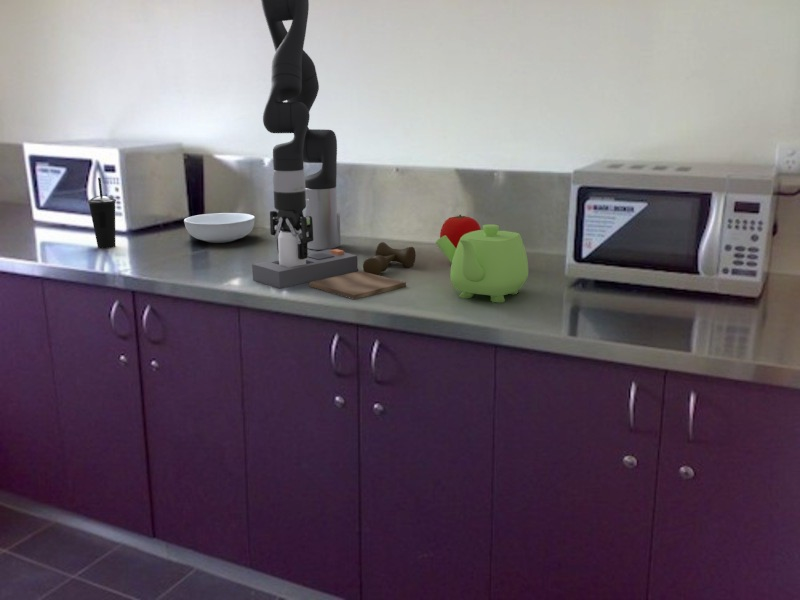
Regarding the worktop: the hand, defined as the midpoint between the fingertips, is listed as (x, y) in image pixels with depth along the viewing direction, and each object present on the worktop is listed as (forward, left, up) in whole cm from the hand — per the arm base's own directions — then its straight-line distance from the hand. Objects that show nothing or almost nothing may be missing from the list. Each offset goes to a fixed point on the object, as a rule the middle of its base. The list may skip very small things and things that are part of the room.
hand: (292, 256), depth 191 cm
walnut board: (-6, +17, -6) cm, 19 cm away
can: (0, 0, -6) cm, 6 cm away
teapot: (-20, +41, -6) cm, 46 cm away
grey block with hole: (-4, 0, -6) cm, 7 cm away
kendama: (-24, +9, -6) cm, 26 cm away
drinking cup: (+16, -69, -6) cm, 71 cm away
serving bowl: (-13, -54, -6) cm, 56 cm away
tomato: (-41, +18, -6) cm, 45 cm away
